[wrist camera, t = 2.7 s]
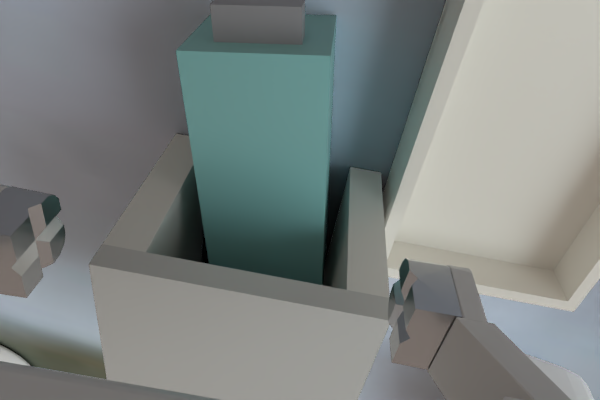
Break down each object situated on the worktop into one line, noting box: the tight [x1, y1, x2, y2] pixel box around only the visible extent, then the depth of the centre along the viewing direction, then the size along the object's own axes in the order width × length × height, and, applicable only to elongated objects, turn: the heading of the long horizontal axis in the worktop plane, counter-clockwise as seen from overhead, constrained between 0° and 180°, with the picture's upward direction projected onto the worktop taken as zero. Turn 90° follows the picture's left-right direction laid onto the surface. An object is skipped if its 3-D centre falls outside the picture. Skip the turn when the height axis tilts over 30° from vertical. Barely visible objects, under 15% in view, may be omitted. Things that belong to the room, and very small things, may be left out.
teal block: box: [176, 0, 336, 285], centre depth 20 cm, size 13×5×5 cm, turn 0°
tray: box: [382, 0, 600, 312], centre depth 19 cm, size 16×10×3 cm, turn 171°
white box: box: [89, 134, 390, 400], centre depth 22 cm, size 11×10×9 cm
